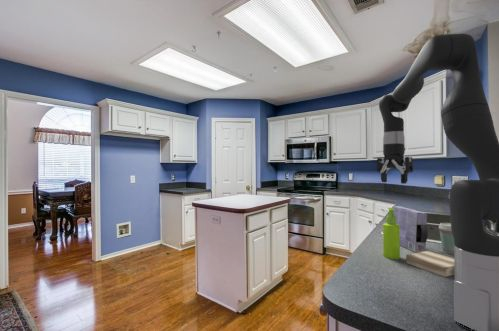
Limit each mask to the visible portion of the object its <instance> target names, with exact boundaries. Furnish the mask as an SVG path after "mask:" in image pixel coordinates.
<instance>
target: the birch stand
mask: <svg viewBox="0 0 499 331" xmlns="http://www.w3.org/2000/svg"><path fill="white" fill-rule="evenodd" d="M405 260H406V262H405V263H406V264H407V265H408V264H409V265H411V266H414V267H417V268H419V269H422V270H424V271H427V272H431V273H433V274H436V275H439V276H441V277H444V278H446V277H450V276H454V257H451V256H447V255H443V254H440V253H437V252H433V251H430V250H426V251H424V252H419V253H409V254H406V256H405Z"/></svg>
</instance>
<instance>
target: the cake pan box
mask: <svg viewBox="0 0 499 331" xmlns="http://www.w3.org/2000/svg"><path fill="white" fill-rule="evenodd" d="M391 208H394V211H393V215H394V216H396V224H398V225H399V226H400V246H401V247H403V248H405V249H407V250H409V251H411V252H412V253H413V252H414V253H419V252H424V251H427V250H426V248H427V245H426V244H427V241H428V234H429V231H428V213H426V212H422V211H418V210H417V209H416V210H415V209H412V208H407V207H404V206H401V205H393V206H392V207H391ZM414 253H413V254H414Z"/></svg>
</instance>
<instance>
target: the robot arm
mask: <svg viewBox="0 0 499 331" xmlns="http://www.w3.org/2000/svg"><path fill="white" fill-rule="evenodd" d="M478 56H479V55H478V50H477V44H476V42H475V39H474V37H473V36H472V35H471V34H468V33H451V34H448V33H447V34H439V35H434V36H432V37H430V38H429V39H428V40H427V41H426V42H425V44H424V45H423V46H422V48H421V50H420V51H419V53H418V55H417V56H416V58H415V60H414V61H413V63H412V65H411V66H410V68H409V70H408V72H407V74H406V75H405V77H404V78H403V80H401V82H399V84H398V85H397V86H396V87H395V89H394V90H393V92H392V94H384V95H383V96H382V97H380V99H379V101H378V108H379V112H380V114H381V119H382V121H383V138H382V144H383V146H382V147H383V148H382V152H383V153H382V154H383V155H384V157H378V158H376V172H378V173H380V181H381V183H387V181H388V174H387V172H388V171H389V170H390V169H397V170H399V172H400V173H401V174H400V184H402V185H403V184H404V185H405V184H407V183H408V176H409V175H408V174H411V173H414V165H413V163H414V162H413V157H412V156H404V155H405V153H406V152H405V150H406V149H405V144H406V143H405V139H406V138H405V131H404V130H405V129H404V128H405V123H404V122H405V121H404V119H403V117H398V116H395V115H394V114H393V113H402V112H405V111H406V110H407V109H408V107H409V106H410V103H411V102H412V99H414V98H415V96H417V95H418V94H419V93H420V92H421V91H422V89H423V87H424V86H425V77H424V74H426V73H427V72H429V71H448V70H449V71H451V73H452V76H453V86H452V89H451V90H450V92H449V94H448V95H447V97H446V99H445V101H444V102H443V104H442V107H441V108H440V115H441V122H442V126H443V127H442V128H443V132H444V134H445V136H446V137H447V139H448V140H449V141H450V142H451V143H452V144H453V145H454V146H455V147H456V148H457V149H458V150H459V151H460V152H461V153H462V154H464V156H465V157H466V158H467V159H469V161H470V162H471V163H472V165H473V166H474V169H475V172H476V174H477V176H478V178H479V179H460V180H457V181H455V182H454V183H453V184H452V185H451V187H450V190H449V195H448V200H449V201H448V202H449V214H450V215H449V216H450V217H449V218H450V223H451V230H452V234H453V238H454V255H453V256H454V257H453V258H454V275H453V277H454V281H453V321H454V320H455V321H457V322H459V323H461V324H463V325H465V326H467V327H469V328H471V329H475V330H477V331H499V236H497V235H493V234H491V233H488V232H487V231H486V230H485V229H484V223H483V221H495V222H496V221H497V222H499V140H498V136H497V133H496V128H495V127H494V126H495V125H494V121H493V116H492V113H491V110H490V106H489V103H488V101H487V98H486V94H485V91H484V86H483V82H482V77H481V74H480V66H479V58H478ZM404 163H405V164H404Z"/></svg>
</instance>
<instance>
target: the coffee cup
mask: <svg viewBox="0 0 499 331" xmlns="http://www.w3.org/2000/svg"><path fill="white" fill-rule="evenodd" d="M438 230H439V236H440V241H441V249H442V252H443V253H444V254H448V255H453V256H454V238H453V234H452V230H451V222H440V223H439V226H438Z"/></svg>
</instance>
